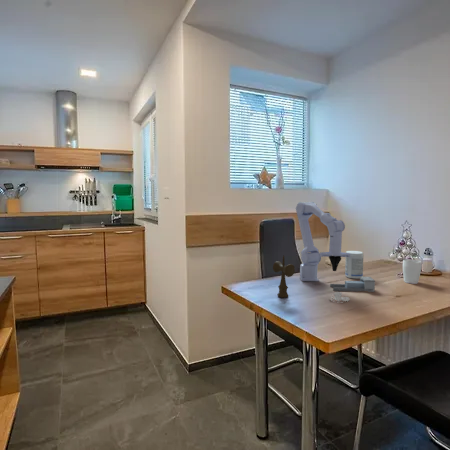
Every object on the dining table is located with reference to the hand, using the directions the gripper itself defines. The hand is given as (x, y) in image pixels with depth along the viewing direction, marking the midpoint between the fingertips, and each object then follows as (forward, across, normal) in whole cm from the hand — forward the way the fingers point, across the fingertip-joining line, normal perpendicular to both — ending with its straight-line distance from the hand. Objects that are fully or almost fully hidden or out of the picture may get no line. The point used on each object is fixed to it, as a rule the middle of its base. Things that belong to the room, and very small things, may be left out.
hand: (334, 270), depth 161 cm
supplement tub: (+10, +17, +24) cm, 31 cm away
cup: (+10, +45, +16) cm, 49 cm away
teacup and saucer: (+10, -1, -21) cm, 23 cm away
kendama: (+10, -27, -15) cm, 32 cm away
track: (+9, +8, 0) cm, 12 cm away
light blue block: (+10, +12, 0) cm, 15 cm away
